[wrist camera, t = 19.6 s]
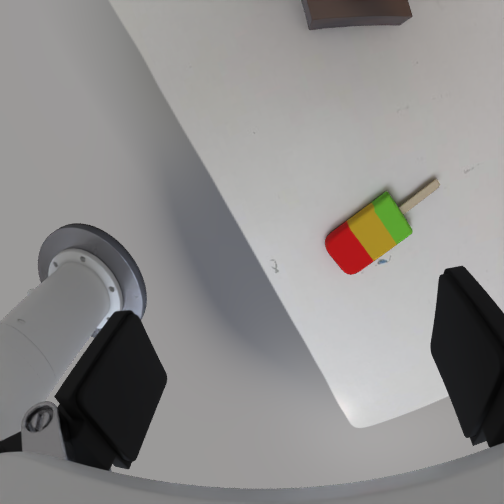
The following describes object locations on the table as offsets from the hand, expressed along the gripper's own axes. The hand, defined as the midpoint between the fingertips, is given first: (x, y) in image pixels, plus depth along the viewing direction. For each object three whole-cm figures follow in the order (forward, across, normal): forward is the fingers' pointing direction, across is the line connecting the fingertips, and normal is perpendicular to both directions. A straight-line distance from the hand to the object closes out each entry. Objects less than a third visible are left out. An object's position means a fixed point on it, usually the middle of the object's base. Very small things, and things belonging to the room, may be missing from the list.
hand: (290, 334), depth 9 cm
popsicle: (+26, -10, +7) cm, 29 cm away
